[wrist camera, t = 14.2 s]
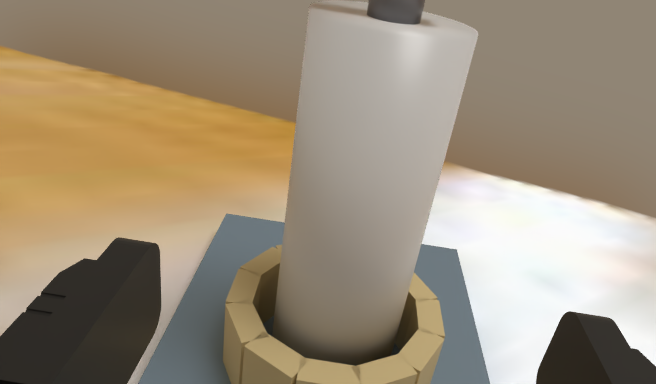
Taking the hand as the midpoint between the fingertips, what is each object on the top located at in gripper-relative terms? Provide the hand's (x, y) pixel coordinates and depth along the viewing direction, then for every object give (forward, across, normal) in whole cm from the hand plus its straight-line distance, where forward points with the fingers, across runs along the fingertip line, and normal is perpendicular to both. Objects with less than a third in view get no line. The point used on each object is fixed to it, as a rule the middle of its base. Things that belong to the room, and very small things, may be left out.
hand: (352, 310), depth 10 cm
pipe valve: (+8, 0, +10) cm, 12 cm away
